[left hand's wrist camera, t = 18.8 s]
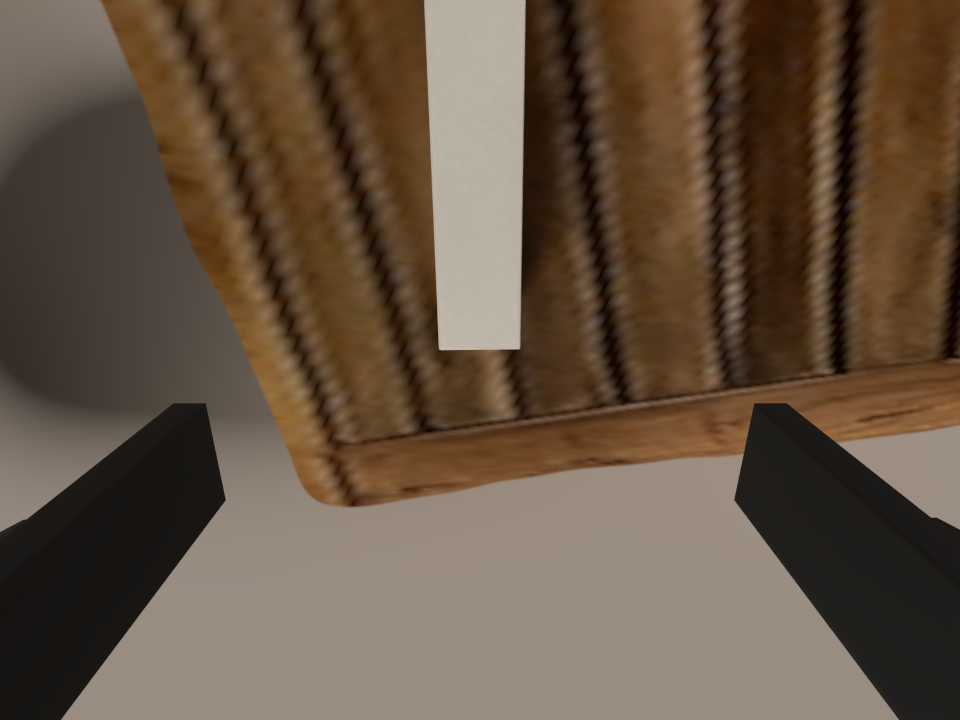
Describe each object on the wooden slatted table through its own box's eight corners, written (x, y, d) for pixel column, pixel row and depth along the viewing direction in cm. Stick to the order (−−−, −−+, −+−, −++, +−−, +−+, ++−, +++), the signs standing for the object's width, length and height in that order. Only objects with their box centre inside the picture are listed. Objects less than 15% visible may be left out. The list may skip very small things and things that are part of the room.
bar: (512, 311, 39) (520, 349, 31) (447, 312, 39) (439, 350, 31) (516, -95, 30) (529, -186, 23) (432, -94, 31) (416, -184, 23)
